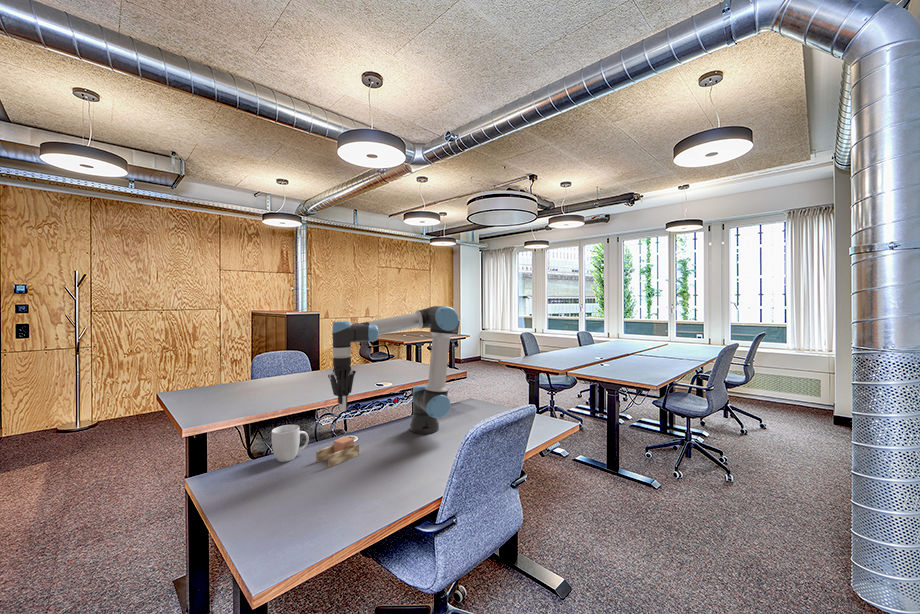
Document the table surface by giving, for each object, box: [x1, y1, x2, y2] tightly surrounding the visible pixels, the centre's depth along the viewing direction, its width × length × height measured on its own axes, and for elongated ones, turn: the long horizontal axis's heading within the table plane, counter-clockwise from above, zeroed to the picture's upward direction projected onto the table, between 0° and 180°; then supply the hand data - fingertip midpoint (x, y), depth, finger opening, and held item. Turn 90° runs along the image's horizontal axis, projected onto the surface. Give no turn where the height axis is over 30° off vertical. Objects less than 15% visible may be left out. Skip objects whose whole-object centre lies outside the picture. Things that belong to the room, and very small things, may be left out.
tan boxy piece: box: [315, 443, 360, 468], centre depth 161 cm, size 15×10×6 cm
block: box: [333, 435, 355, 453], centre depth 163 cm, size 6×6×7 cm
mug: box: [271, 424, 310, 463], centre depth 162 cm, size 15×11×13 cm
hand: (342, 410), depth 163 cm, fingers closed
